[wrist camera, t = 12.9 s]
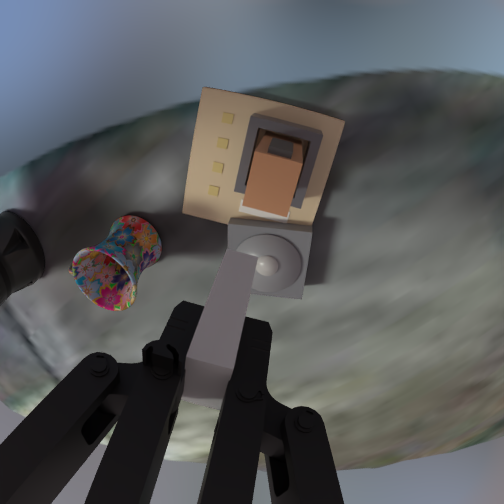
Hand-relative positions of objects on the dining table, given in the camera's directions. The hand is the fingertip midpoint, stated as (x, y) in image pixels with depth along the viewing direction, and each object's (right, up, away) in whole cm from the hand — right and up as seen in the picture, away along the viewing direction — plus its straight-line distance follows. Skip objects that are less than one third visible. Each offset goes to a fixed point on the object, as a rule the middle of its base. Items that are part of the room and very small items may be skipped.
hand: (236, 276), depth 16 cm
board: (+1, +11, +22) cm, 24 cm away
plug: (+4, +12, +20) cm, 23 cm away
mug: (-17, +3, +30) cm, 35 cm away
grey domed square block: (+3, +1, +27) cm, 28 cm away
